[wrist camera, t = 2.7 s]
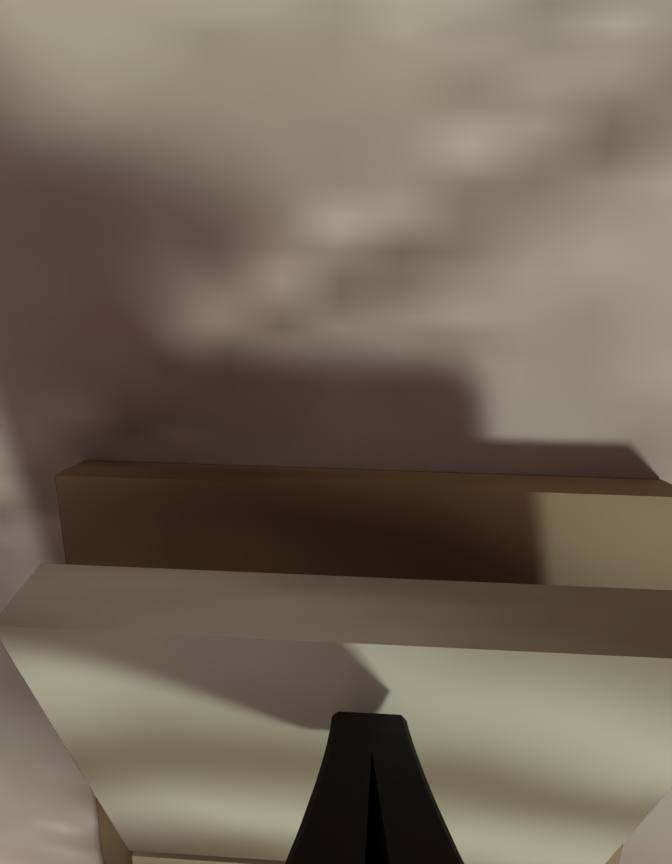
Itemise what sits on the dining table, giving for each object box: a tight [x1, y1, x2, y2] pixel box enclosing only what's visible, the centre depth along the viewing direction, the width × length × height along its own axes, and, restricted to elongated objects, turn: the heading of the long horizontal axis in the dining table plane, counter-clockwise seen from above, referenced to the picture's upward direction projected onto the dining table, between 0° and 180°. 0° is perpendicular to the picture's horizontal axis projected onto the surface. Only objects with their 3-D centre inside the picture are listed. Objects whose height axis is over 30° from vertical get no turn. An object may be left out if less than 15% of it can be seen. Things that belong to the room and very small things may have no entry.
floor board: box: [55, 460, 672, 864], centre depth 15 cm, size 19×18×3 cm
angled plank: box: [0, 563, 672, 864], centre depth 12 cm, size 11×14×2 cm
